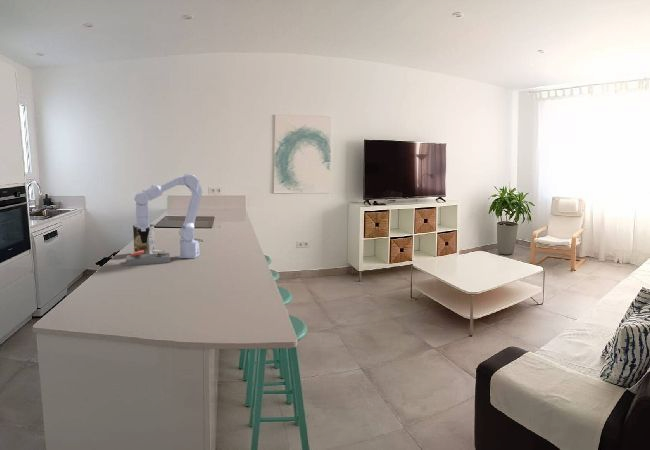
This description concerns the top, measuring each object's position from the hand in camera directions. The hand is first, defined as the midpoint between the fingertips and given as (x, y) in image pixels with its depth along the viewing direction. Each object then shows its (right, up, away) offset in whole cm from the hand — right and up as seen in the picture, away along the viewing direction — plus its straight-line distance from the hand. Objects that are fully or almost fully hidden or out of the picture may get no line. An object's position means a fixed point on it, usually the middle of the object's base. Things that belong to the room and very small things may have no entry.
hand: (144, 243), depth 204 cm
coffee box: (-7, -7, +16) cm, 19 cm away
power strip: (+3, -10, -1) cm, 10 cm away
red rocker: (-3, -5, -2) cm, 6 cm away
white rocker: (+6, -5, +2) cm, 8 cm away
